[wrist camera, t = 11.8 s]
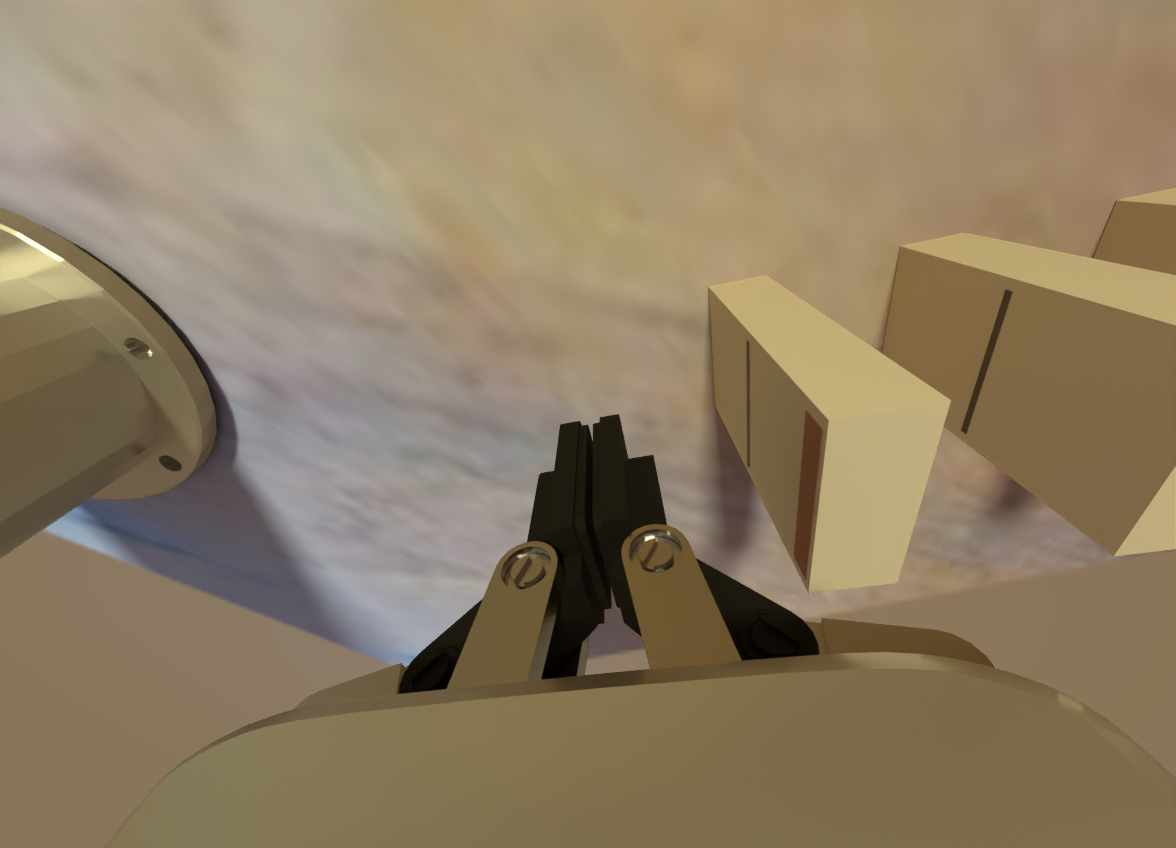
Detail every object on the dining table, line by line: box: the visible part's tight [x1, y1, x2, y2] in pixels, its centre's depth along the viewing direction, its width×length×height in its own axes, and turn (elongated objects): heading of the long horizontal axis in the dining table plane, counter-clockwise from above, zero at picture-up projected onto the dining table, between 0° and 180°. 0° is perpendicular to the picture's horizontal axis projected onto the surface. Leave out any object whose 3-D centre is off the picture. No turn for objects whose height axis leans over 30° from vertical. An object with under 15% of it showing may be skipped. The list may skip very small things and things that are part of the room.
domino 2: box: [882, 233, 1176, 556], centre depth 12 cm, size 2×5×9 cm, turn 12°
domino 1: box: [709, 275, 951, 593], centre depth 12 cm, size 2×5×9 cm, turn 12°
